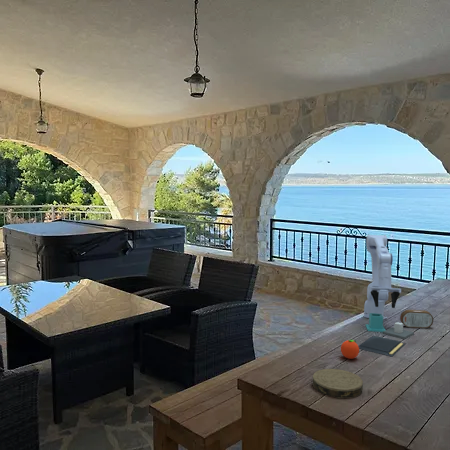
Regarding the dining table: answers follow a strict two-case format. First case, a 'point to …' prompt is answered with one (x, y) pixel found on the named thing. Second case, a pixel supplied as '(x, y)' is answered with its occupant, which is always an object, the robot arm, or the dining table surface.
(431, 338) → the dining table surface
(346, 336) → the dining table surface
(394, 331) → the post block
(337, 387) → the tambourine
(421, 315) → the tin
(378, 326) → the flange
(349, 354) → the clementine
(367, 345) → the wallet
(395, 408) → the dining table surface
